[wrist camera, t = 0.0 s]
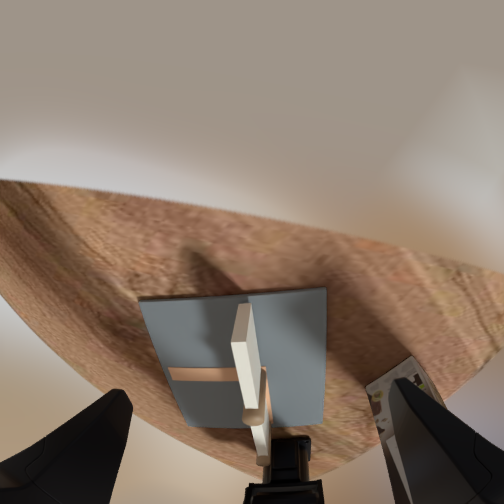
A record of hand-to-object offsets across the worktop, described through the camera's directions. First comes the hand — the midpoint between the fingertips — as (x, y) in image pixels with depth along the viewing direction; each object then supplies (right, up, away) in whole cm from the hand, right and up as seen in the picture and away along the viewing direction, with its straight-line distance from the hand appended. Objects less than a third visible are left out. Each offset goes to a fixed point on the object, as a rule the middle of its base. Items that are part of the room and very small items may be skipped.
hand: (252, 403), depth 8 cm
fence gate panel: (0, -3, +16) cm, 16 cm away
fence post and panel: (+1, -10, +19) cm, 22 cm away
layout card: (-1, -7, +18) cm, 20 cm away
